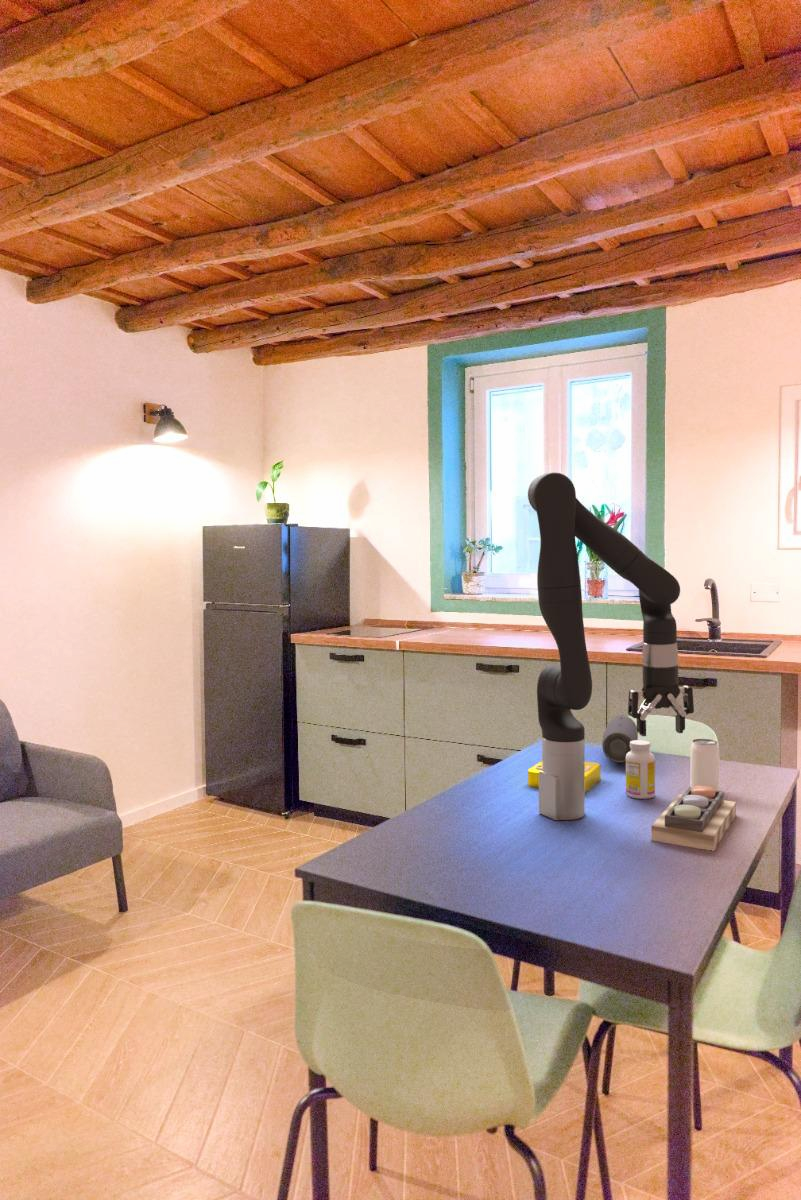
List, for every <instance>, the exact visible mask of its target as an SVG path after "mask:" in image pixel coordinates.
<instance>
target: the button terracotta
mask: <svg viewBox="0 0 801 1200" xmlns="http://www.w3.org/2000/svg"><path fill="white" fill-rule="evenodd" d="M691 795H700V796H704V797H706V798H710V799H715V789H714V788H712V787H708V786H693V787H691Z"/></svg>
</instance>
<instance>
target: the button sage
mask: <svg viewBox="0 0 801 1200" xmlns="http://www.w3.org/2000/svg"><path fill="white" fill-rule="evenodd" d="M674 816H677V817H684V818H690V819H697V820H700V817H701V809H700V808H699V807H696V806H693V805H677V806H675V807H674Z"/></svg>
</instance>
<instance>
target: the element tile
mask: <svg viewBox="0 0 801 1200" xmlns="http://www.w3.org/2000/svg"><path fill="white" fill-rule="evenodd" d="M601 768H602V766H601V764H600V763H597V762H590V761H585V793H587V792H588V791H589V790H591V789H592V788H593V787H594V786H596V785H597V784H598V783H599V782H600V781H601V779H602V778H601V774H602V771H601V770H602V769H601ZM539 771H542V760H541V761H539V762H537V763H536V764H534V765H533V766H531V767H529V768H528V769H527V785H528V786H529V787H532V788H538V789H539ZM596 783H597V784H596ZM595 784H596V785H595ZM592 786H593V787H592ZM591 787H592V788H591ZM590 788H591V789H590ZM587 790H588V791H587ZM586 791H587V792H586Z"/></svg>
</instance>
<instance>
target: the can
mask: <svg viewBox="0 0 801 1200" xmlns="http://www.w3.org/2000/svg"><path fill="white" fill-rule="evenodd" d="M689 771H690V778H689V780H690V781H689V782H690V786H689V787H693V786H708V787H712V788H714V789H715V790H716V791H720V748H719V745H718V741H717V740H715V739H712V738H711V739H709V738H694V739H692V744H691V745H690V770H689Z"/></svg>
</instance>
